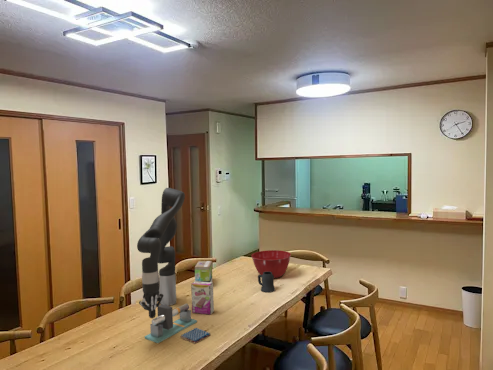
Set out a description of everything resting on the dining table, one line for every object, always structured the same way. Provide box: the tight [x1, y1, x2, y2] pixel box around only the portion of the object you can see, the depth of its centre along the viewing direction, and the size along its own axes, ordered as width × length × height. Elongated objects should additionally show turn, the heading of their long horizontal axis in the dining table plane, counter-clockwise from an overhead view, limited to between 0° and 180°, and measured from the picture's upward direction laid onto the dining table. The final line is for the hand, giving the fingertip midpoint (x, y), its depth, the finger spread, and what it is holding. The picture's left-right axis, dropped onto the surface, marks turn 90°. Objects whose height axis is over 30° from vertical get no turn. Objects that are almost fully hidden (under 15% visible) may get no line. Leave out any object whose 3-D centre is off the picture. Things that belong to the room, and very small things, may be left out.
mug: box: [257, 271, 276, 294], centre depth 230 cm, size 12×9×11 cm
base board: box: [144, 318, 198, 344], centre depth 177 cm, size 26×9×1 cm, turn 145°
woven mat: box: [180, 327, 211, 345], centre depth 169 cm, size 10×11×2 cm
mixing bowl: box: [250, 249, 292, 279], centre depth 259 cm, size 28×28×15 cm
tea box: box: [194, 260, 213, 283], centre depth 243 cm, size 15×10×15 cm, turn 179°
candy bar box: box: [190, 280, 215, 316], centre depth 197 cm, size 11×5×16 cm, turn 74°
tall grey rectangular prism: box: [156, 304, 174, 330], centre depth 173 cm, size 3×7×10 cm, turn 55°
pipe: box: [149, 303, 192, 338], centre depth 177 cm, size 22×5×9 cm, turn 145°
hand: (152, 317), depth 167 cm, fingers closed
